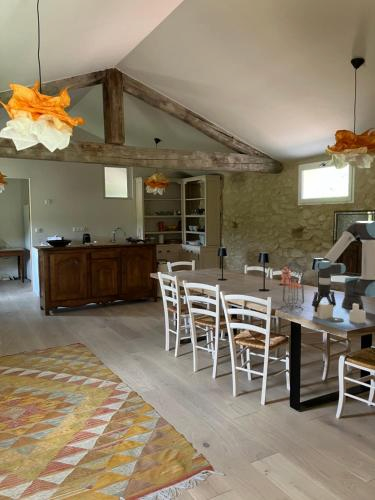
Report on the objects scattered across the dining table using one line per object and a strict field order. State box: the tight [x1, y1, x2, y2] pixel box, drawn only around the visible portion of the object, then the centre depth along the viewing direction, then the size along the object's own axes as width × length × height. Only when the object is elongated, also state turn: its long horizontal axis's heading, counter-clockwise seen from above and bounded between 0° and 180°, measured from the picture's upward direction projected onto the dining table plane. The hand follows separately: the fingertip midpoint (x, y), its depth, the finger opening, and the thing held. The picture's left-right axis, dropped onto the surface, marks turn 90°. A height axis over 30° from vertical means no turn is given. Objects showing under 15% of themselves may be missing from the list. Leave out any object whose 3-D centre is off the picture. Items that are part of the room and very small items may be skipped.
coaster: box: [327, 316, 345, 323], centre depth 258 cm, size 10×10×1 cm
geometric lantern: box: [280, 261, 308, 309], centre depth 296 cm, size 16×16×35 cm
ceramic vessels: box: [280, 266, 304, 290], centre depth 384 cm, size 35×21×19 cm, turn 11°
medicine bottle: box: [348, 303, 367, 324], centre depth 253 cm, size 7×7×12 cm
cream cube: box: [312, 301, 334, 320], centre depth 266 cm, size 9×9×9 cm
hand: (323, 316), depth 266 cm, fingers closed on cream cube, 9 cm apart
